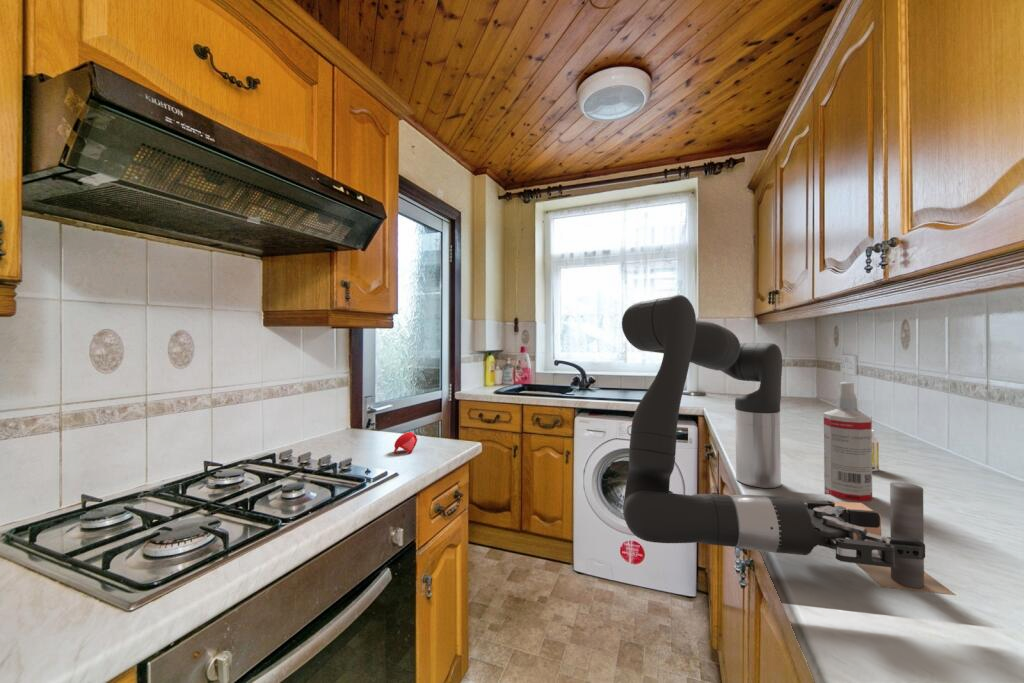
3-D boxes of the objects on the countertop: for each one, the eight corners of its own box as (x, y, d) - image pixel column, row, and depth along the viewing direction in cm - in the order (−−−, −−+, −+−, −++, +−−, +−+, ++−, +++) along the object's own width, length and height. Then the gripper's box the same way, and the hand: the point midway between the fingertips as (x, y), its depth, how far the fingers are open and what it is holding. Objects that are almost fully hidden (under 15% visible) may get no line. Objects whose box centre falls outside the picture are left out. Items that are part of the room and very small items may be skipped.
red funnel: (416, 437, 132) (400, 429, 131) (421, 434, 127) (404, 426, 126) (405, 460, 128) (388, 452, 127) (410, 458, 123) (392, 450, 122)
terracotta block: (827, 529, 69) (827, 500, 69) (861, 532, 68) (861, 502, 68) (844, 544, 64) (844, 513, 64) (881, 547, 63) (881, 515, 63)
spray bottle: (881, 510, 80) (880, 384, 79) (838, 507, 81) (837, 384, 81) (856, 494, 87) (855, 380, 87) (817, 492, 89) (816, 380, 89)
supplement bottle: (863, 464, 107) (863, 426, 107) (884, 471, 102) (884, 431, 102) (844, 465, 107) (844, 427, 107) (865, 472, 101) (864, 432, 101)
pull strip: (802, 521, 75) (801, 445, 75) (852, 525, 73) (851, 447, 73) (882, 595, 53) (881, 489, 53) (955, 603, 51) (955, 493, 51)
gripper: (787, 519, 51) (941, 530, 48) (748, 480, 65) (865, 486, 61) (788, 577, 51) (942, 593, 48) (749, 526, 65) (866, 535, 61)
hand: (898, 533), depth 54 cm, fingers open, 8 cm apart
